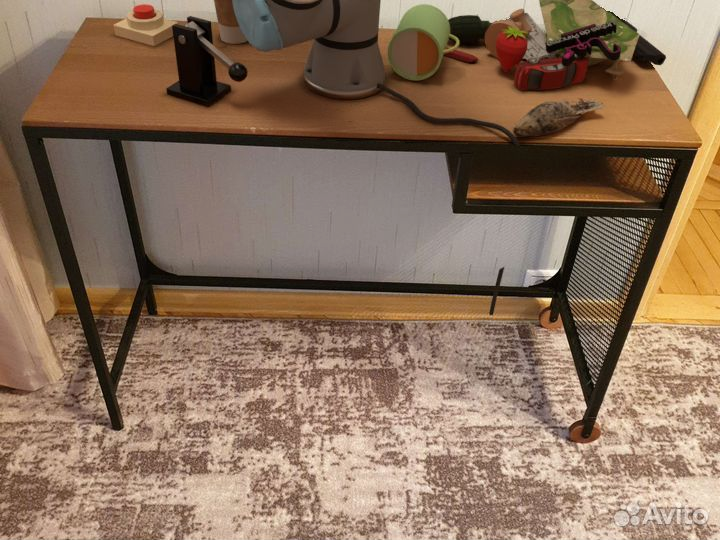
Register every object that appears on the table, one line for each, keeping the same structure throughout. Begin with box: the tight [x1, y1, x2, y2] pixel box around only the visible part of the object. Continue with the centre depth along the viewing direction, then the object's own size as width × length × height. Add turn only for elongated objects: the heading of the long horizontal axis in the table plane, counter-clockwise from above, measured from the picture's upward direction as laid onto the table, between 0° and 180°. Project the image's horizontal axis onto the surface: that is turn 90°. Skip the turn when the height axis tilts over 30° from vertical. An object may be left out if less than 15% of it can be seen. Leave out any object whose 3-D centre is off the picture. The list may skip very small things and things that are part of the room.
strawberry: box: [496, 22, 530, 73], centre depth 138 cm, size 6×8×10 cm
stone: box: [492, 12, 562, 61], centre depth 151 cm, size 22×3×10 cm
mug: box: [387, 3, 461, 81], centre depth 137 cm, size 13×10×12 cm
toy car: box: [513, 56, 589, 91], centre depth 137 cm, size 6×15×5 cm
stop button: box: [132, 3, 155, 19], centre depth 145 cm, size 4×4×2 cm
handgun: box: [608, 11, 667, 66], centre depth 156 cm, size 4×29×15 cm
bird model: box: [512, 98, 606, 138], centre depth 125 cm, size 21×6×5 cm, turn 126°
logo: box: [546, 21, 621, 67], centre depth 134 cm, size 13×2×10 cm
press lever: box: [184, 21, 249, 83], centre depth 123 cm, size 13×3×3 cm, turn 63°
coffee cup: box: [213, 0, 248, 45], centre depth 143 cm, size 8×8×15 cm
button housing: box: [112, 8, 179, 47], centre depth 146 cm, size 10×8×4 cm
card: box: [538, 0, 640, 62], centre depth 142 cm, size 22×25×1 cm
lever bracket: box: [166, 15, 232, 108], centre depth 125 cm, size 9×7×13 cm
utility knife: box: [443, 46, 479, 63], centre depth 146 cm, size 12×1×2 cm
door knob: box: [484, 8, 532, 60], centre depth 145 cm, size 8×10×8 cm
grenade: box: [448, 14, 493, 45], centre depth 149 cm, size 6×6×12 cm
